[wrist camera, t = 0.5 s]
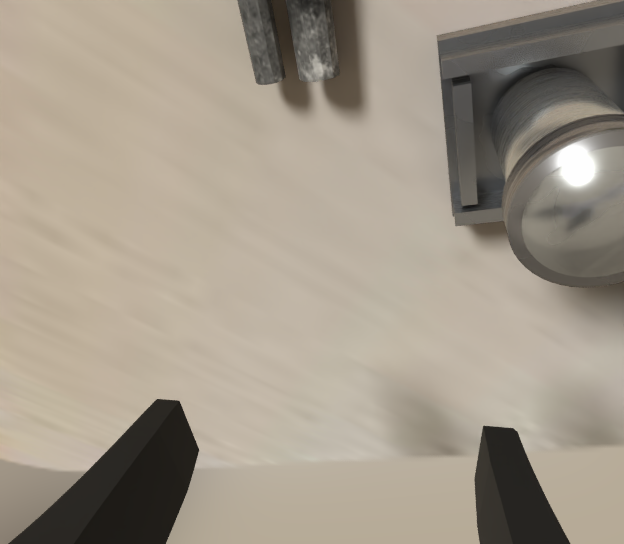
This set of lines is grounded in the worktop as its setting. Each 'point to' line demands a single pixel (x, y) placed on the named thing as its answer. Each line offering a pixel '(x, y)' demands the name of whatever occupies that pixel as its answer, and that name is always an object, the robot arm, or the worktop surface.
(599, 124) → the metal capped cylinder
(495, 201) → the plate
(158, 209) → the worktop surface
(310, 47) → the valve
